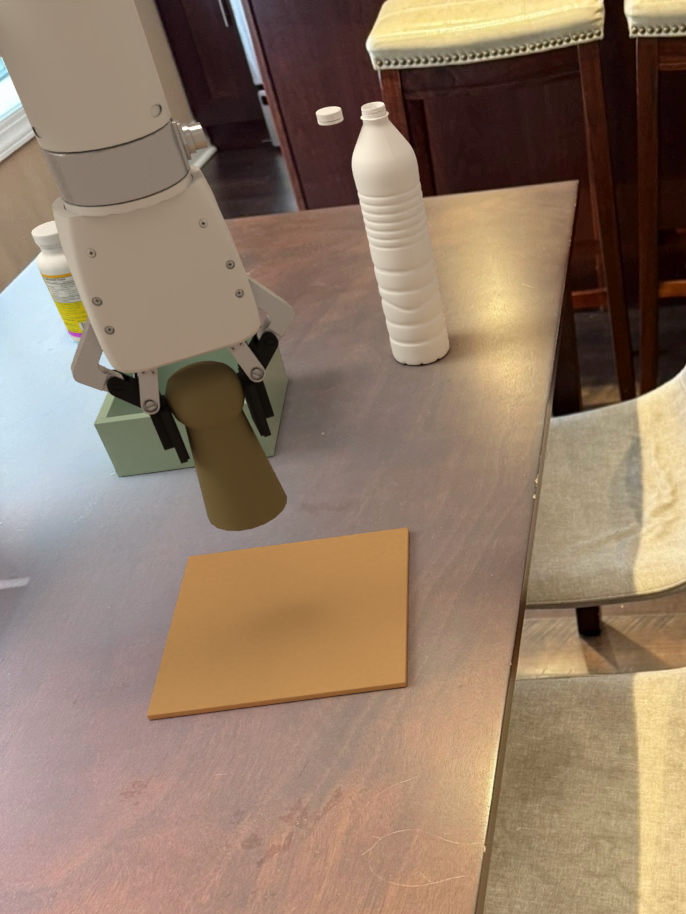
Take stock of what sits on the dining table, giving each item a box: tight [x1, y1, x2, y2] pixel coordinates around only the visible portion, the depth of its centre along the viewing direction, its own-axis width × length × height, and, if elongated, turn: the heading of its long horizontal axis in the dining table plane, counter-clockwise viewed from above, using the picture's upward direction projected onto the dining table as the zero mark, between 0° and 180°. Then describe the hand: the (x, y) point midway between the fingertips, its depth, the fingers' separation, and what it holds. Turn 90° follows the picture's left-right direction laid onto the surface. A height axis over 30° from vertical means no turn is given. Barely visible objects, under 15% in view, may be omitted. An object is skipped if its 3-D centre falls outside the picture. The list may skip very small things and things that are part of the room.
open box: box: [93, 337, 289, 478], centre depth 105 cm, size 16×16×6 cm
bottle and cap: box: [315, 101, 450, 366], centre depth 105 cm, size 9×6×25 cm
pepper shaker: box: [165, 361, 288, 532], centre depth 72 cm, size 6×6×11 cm
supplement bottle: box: [31, 220, 88, 343], centre depth 122 cm, size 7×7×13 cm
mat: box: [146, 526, 410, 721], centre depth 84 cm, size 20×20×1 cm
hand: (221, 438), depth 71 cm, fingers closed on pepper shaker, 5 cm apart
